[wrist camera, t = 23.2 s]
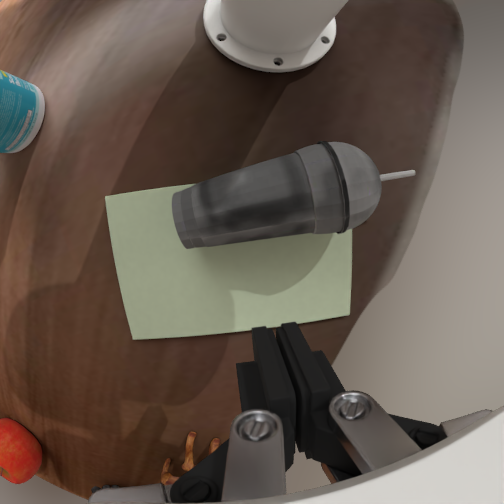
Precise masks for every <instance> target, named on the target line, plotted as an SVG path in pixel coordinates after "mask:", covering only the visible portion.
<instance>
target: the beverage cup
mask: <svg viewBox="0 0 504 504" xmlns="http://www.w3.org/2000/svg"><path fill="white" fill-rule="evenodd" d="M414 175H415V171H414V170H409V171H402V172H396V173H390V174H383V175H379V172H378V169H377V167H376V165H375V164H374V162H373V161H372V160H371V158H370V157H369V156H368V155H367V154H365V153H364V152H363V151H362V150H360V149H358V148H357V147H355V146H353V145H350V144H347V143H342V142H326V141H319V142H318V143H317V144H316V145H311V146H307V147H304V148H302V149H299V150H297V151H295V152H294V153H292V154H289V155H285V156H281V157H278V158H275V159H271V160H268V161H264V162H261V163H258V164H255V165H251V166H248V167H245V168H242V169H239V170H236V171H233V172H229V173H226V174H223V175H220V176H217V177H215V178H212V179H209V180H206V181H203V182H200V183H197V184H194V185H193V186H191V187H189V188H186V189H184V190H182V191H179V192H175V193H174V194H173V196H172V214H173V219H174V224H175V227H176V231H177V234H178V236H179V238H180V241H181V242H182V244H183V246H184V247H185V248H186V249H191V248H199V247H213V246H220V245H227V244H234V243H241V242H248V241H256V240H263V239H270V238H277V237H285V236H292V235H300V234H307V233H312V234H330V233H335V232H336V233H337V234H342V233H344V232H346V230H349V229H352V228H355V227H357V226H359V225H360V224H362V223H363V222H365V221H366V220H367V219H368V218H369V217H370V216H371V214H372V213H373V212H374V210H375V208H376V207H377V205H378V203H379V200H380V195H381V181H385V180H391V179H397V178H403V177H409V176H414Z"/></svg>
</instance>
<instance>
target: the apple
mask: <svg viewBox="0 0 504 504" xmlns="http://www.w3.org/2000/svg"><path fill="white" fill-rule="evenodd" d="M41 463H42V449H41V445H40V444H39V442H38V440H37V439H36V438H35V437H34V436H33V435H32V434H31V432H29V431H28V430H27V429H26V428H25V427H23V426H22V425H21V424H19V423H18V422H16V421H15V420H12V419H9V418H2V419H0V475H1V476H3V477H4V478H5V479H7V480H8V481H10V482H12V483H15V484H21V483H24V482H26V481H28V480H29V479H31V478H32V477H33V476H34V475H35V473H36V472H37V471H38V469H39V467H40V465H41Z"/></svg>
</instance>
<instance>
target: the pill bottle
mask: <svg viewBox="0 0 504 504" xmlns="http://www.w3.org/2000/svg"><path fill="white" fill-rule="evenodd" d="M44 112H45V101H44V96H43V94H42V92H41V90H40V89H39V88H38V87H37V86H35V85H33V84H31V83H29V82H27V81H24V80H22V79H20V78H18V77H15V76H13V75H11V74H8V73H6V72H4V71H1V70H0V153H15V152H18V151H21V150H22V149H24V148H25V147H27V146H28V145H29V144H30V143H31V142H32V140H33V139H34V138H35V136H36V135H37V133H38V131H39V129H40V127H41V124H42V121H43V117H44Z"/></svg>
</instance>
